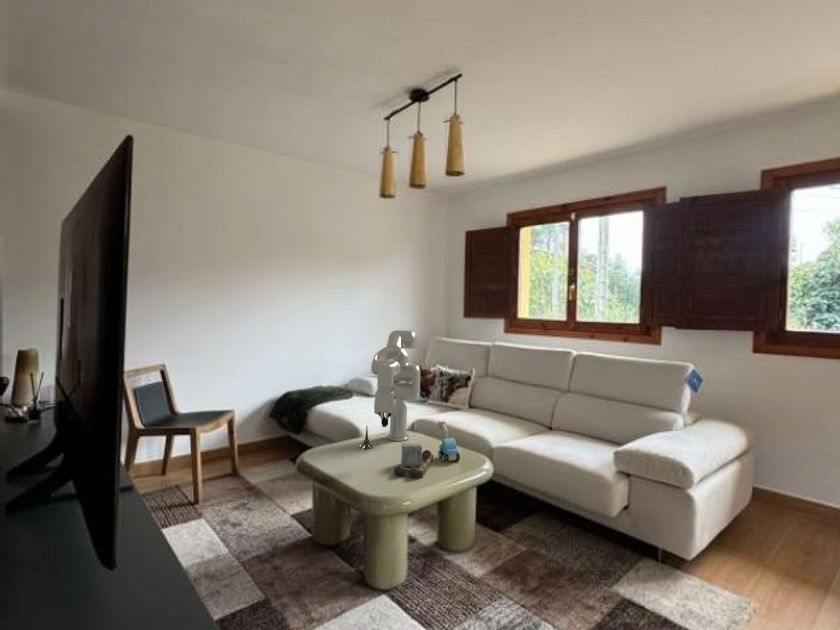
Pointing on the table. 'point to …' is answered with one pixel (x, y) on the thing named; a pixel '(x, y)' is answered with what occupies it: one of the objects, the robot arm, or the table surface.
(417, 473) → the chassis bay
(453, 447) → the toy excavator
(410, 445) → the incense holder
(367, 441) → the eiffel tower figurine
